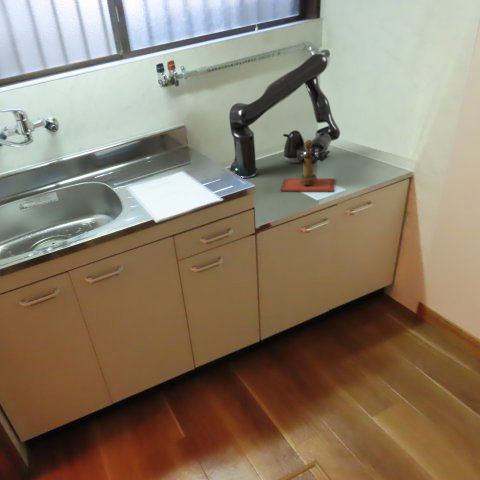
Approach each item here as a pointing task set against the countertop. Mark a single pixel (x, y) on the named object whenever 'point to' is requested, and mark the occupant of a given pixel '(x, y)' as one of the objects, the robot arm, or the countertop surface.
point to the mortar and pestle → (308, 166)
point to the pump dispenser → (293, 146)
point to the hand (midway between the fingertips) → (306, 162)
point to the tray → (308, 186)
